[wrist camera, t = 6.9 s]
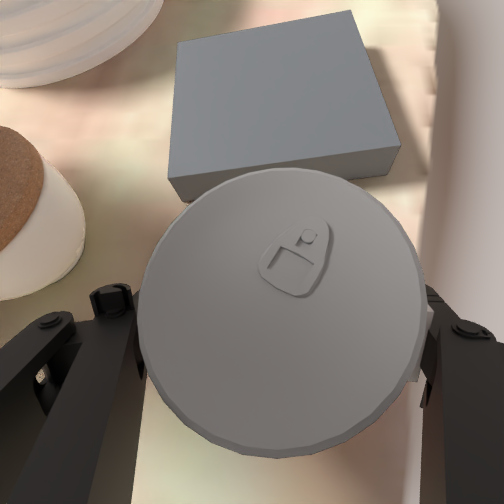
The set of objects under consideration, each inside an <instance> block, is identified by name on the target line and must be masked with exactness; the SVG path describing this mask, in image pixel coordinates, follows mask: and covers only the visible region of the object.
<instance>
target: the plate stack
mask: <svg viewBox="0 0 504 504" xmlns="http://www.w3.org/2000/svg"><path fill="white" fill-rule="evenodd" d="M163 1H164V0H0V88H28V87H36V86H41V85H46V84H50V83H54V82H58V81H61V80H64V79H67V78H70V77H73V76H76V75H78V74H81V73H83V72H85V71H87V70H90V69H92V68H94V67H96V66H98V65H100V64H102V63H103V62H105V61H107V60H109V59H110V58H112V57H114V56H115V55H117V54H118V53H120V52H121V51H123V50H124V49H125V48H127V47H128V46H129V45H130V44H132V43H133V42H134V41H135V40H136V39H138V38H139V37H140V36H141V35H142V34H143V33H144V32H145V31H146V30H147V28H148V27H149V26H150V25H151V24H152V22H153V21H154V20H155V18H156V17H157V15H158V13H159V11H160V9H161V7H162V5H163Z"/></svg>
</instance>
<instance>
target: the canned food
mask: <svg viewBox="0 0 504 504" xmlns="http://www.w3.org/2000/svg"><path fill="white" fill-rule="evenodd" d="M427 305H428V302H427V294H426V287H425V280H424V273H423V270H422V267H421V265H420V262H419V259H418V256H417V253H416V251H415V248H414V246H413V244H412V242H411V241H410V239H409V237H408V236H407V234H406V232H405V231H404V229H403V227H402V226H401V224H400V223H399V221H398V220H397V219H396V218H395V217H394V216H393V215H392V214H391V213H390V212H389V210H388V209H387V208H386V207H385V206H384V205H383V204H382V203H381V202H379V201H378V200H377V199H375V198H374V197H373V196H372V195H370V194H369V193H368V192H366V191H365V190H364V189H362V188H360V187H358V186H356V185H354V184H352V183H350V182H348V181H346V180H344V179H342V178H340V177H337V176H334V175H331V174H327V173H324V172H321V171H317V170H309V169H302V168H271V169H265V170H260V171H255V172H250V173H247V174H244V175H241V176H238V177H235V178H233V179H230V180H227V181H225V182H223V183H222V184H220V185H218V186H216V187H214V188H212V189H211V190H209V191H207V192H205V193H204V194H203V195H202V196H200V197H199V198H198V199H196V200H195V201H194V202H192V203H191V204H190V205H189V206H187V207H186V208H185V209H184V211H183V212H182V213H181V214H180V215H179V216H178V217H177V218H176V219H175V220H174V221H173V222H172V223H171V224H170V226H169V227H168V229H167V230H166V232H165V233H164V235H163V236H162V237H161V239H160V240H159V242H158V243H157V245H156V247H155V249H154V251H153V254H152V256H151V258H150V260H149V262H148V264H147V267H146V270H145V273H144V277H143V281H142V284H141V288H140V292H139V302H138V313H137V325H138V334H139V344H140V349H141V353H142V356H143V359H144V362H145V365H146V369H147V372H148V375H149V377H150V378H151V380H152V382H153V384H154V386H155V387H156V389H157V391H158V393H159V394H160V396H161V398H162V400H163V401H164V402H165V404H166V405H167V406H168V407H169V408H170V409H171V410H172V411H173V412H174V413H175V415H176V416H177V417H178V418H179V419H180V420H181V421H182V422H183V423H184V424H185V425H186V426H188V427H189V428H190V429H192V430H193V431H195V432H196V433H198V434H199V435H201V436H202V437H204V438H205V439H207V440H208V441H209V442H211V443H213V444H216V445H219V446H221V447H224V448H227V449H229V450H232V451H234V452H237V453H240V454H242V455H250V456H258V457H267V458H275V459H279V458H287V457H295V456H303V455H312V454H315V453H317V452H320V451H323V450H325V449H328V448H330V447H333V446H336V445H338V444H341V443H344V442H346V441H347V440H349V439H350V438H352V437H353V436H355V435H356V434H358V433H359V432H361V431H362V430H364V429H365V428H367V427H368V426H370V425H371V424H372V423H374V422H375V421H376V420H377V419H378V418H379V417H380V416H381V415H382V414H383V413H384V411H385V410H386V409H387V408H388V407H389V406H390V405H391V404H392V403H393V402H394V401H395V399H396V398H397V397H398V396H399V395H400V393H401V391H402V389H403V388H404V386H405V384H406V382H407V381H408V379H409V377H410V375H411V373H412V372H413V370H414V368H415V366H416V364H417V360H418V357H419V354H420V350H421V347H422V344H423V340H424V337H425V332H426V318H427Z"/></svg>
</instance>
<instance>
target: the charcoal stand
mask: <svg viewBox="0 0 504 504" xmlns="http://www.w3.org/2000/svg"><path fill="white" fill-rule="evenodd" d="M400 147H401V143H400V140H399V138H398V135H397V132H396V130H395V127H394V124H393V122H392V119H391V116H390V114H389V111H388V108H387V106H386V103H385V100H384V98H383V95H382V92H381V90H380V87H379V84H378V82H377V79H376V76H375V74H374V71H373V68H372V66H371V63H370V60H369V58H368V55H367V52H366V50H365V47H364V44H363V42H362V39H361V36H360V34H359V31H358V28H357V26H356V23H355V20H354V18H353V15H352V12H351V10H347V11H342V12H336V13H331V14H326V15H320V16H315V17H310V18H305V19H299V20H294V21H289V22H283V23H278V24H273V25H267V26H262V27H257V28H252V29H246V30H241V31H236V32H230V33H225V34H220V35H214V36H209V37H204V38H199V39H193V40H188V41H183V42H178V45H177V58H176V72H175V85H174V98H173V112H172V125H171V138H170V151H169V165H168V180H169V181H170V183H171V184H172V186H173V188H174V189H175V191H176V192H177V194H178V195H179V197H180V199H181V200H182V202H185V201H193V200H196V199H198V198H199V197H200V196H202V195H203V194H204V193H205V192H207V191H209V190H211V189H212V188H214V187H216V186H218V185H220V184H222V183H223V182H225V181H227V180H230V179H233V178H235V177H238V176H241V175H244V174H247V173H250V172H255V171H260V170H265V169H271V168H302V169H309V170H317V171H321V172H324V173H327V174H331V175H334V176H337V177H340V178H342V179H344V180H351V179H359V178H366V177H374V176H381V175H387V174H388V172H389V170H390V168H391V165H392V163H393V161H394V159H395V157H396V155H397V153H398V151H399V149H400Z"/></svg>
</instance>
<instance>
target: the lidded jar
mask: <svg viewBox="0 0 504 504" xmlns="http://www.w3.org/2000/svg"><path fill="white" fill-rule="evenodd" d="M85 230H86V222H85V217H84V211H83V208H82V206H81V203H80V201H79V199H78V197H77V195H76V193H75V192H74V190H73V189H72V187H71V186H70V185H69V183H68V182H67V181H66V179H65V178H64V177H63V176H62V175H61V174H60V172H59V171H58V170H57V169H56V168H55V167H54V166H53V165H52V164H50V163H49V162H48V161H47V160H46V159H45V158H44V157H43V156H42V155H40V154H39V153H38V151H37V150H36V148H35V147H34V146H33V145H32V144H31V143H30V142H29V141H28V140H26V139H25V138H24V137H23V136H22V135H20V134H19V133H18V132H16V131H14V130H12V129H10V128H7V127H3V126H0V301H2V300H9V299H15V298H18V297H22V296H25V295H28V294H31V293H34V292H36V291H38V290H40V289H42V288H44V287H46V286H48V285H50V284H52V283H55V282H57V281H58V280H60V279H62V278H63V277H64V276H65V275H67V274H68V273H69V272H70V271H71V270H72V269H73V268H74V266H75V265H76V264H77V262H78V261H79V259H80V257H81V255H82V253H83V249H84V245H85Z"/></svg>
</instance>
